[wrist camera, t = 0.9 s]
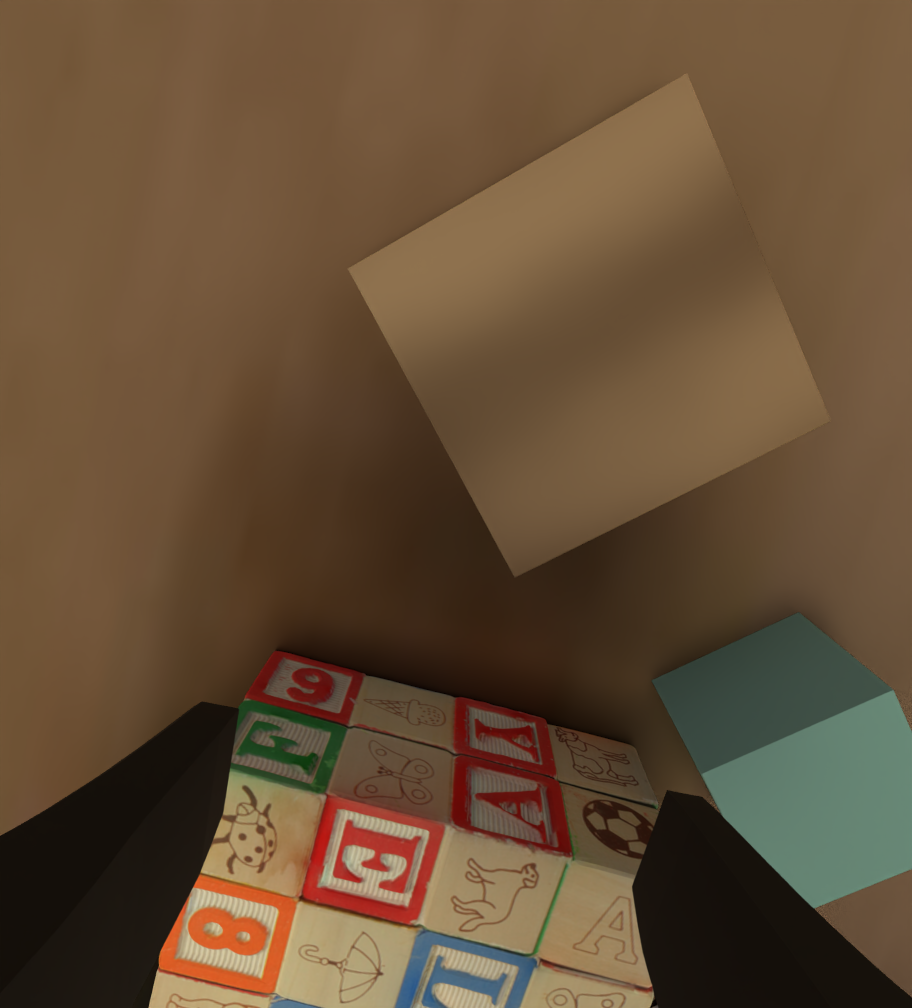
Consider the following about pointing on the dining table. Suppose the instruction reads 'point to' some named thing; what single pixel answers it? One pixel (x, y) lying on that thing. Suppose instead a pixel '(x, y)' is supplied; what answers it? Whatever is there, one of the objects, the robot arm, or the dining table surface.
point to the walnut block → (595, 331)
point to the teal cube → (801, 755)
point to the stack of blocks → (412, 857)
